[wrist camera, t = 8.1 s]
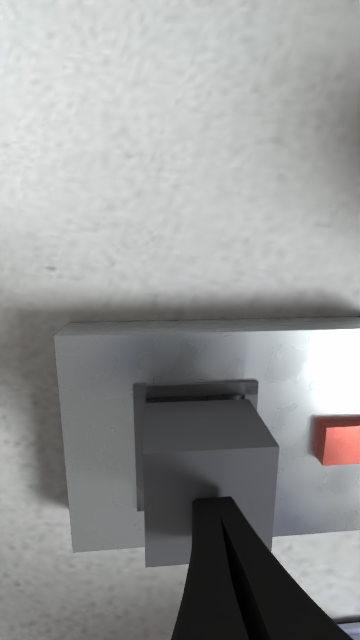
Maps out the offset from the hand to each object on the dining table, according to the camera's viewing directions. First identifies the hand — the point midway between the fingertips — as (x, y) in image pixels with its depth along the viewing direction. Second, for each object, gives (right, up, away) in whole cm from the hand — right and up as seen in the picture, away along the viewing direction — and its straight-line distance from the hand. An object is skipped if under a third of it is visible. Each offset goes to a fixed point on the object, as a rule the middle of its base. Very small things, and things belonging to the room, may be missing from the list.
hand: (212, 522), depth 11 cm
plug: (-1, +2, +7) cm, 7 cm away
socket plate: (+1, +2, +7) cm, 7 cm away
